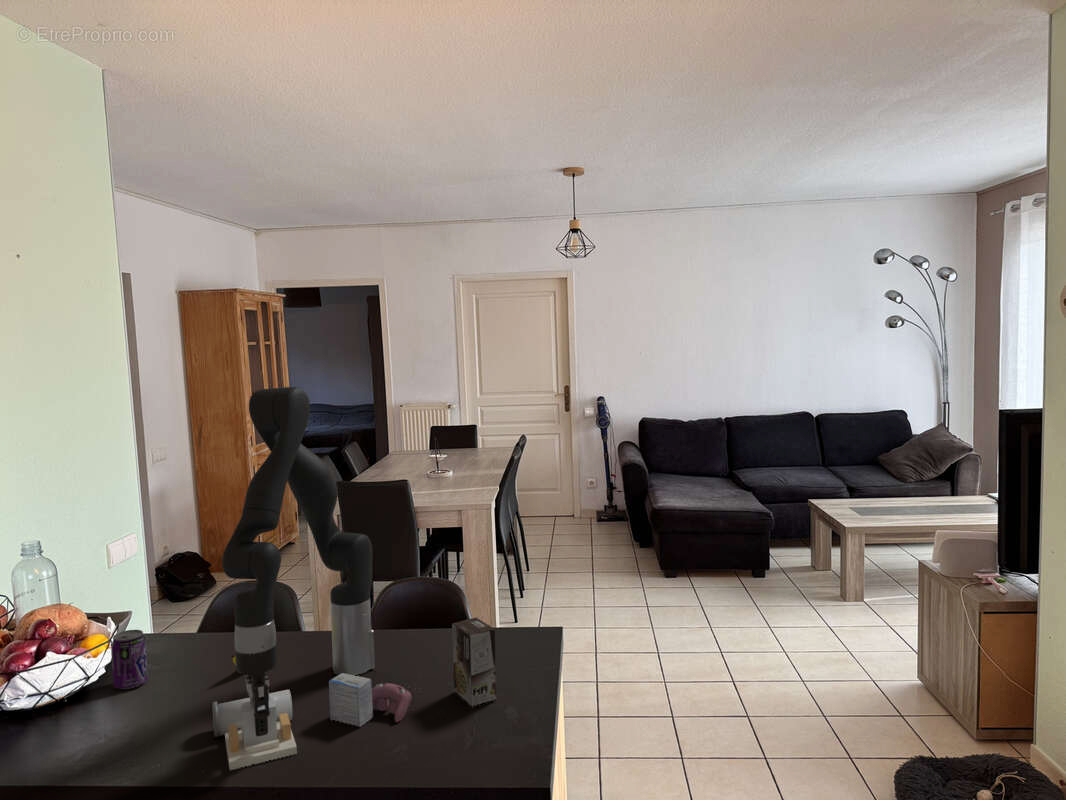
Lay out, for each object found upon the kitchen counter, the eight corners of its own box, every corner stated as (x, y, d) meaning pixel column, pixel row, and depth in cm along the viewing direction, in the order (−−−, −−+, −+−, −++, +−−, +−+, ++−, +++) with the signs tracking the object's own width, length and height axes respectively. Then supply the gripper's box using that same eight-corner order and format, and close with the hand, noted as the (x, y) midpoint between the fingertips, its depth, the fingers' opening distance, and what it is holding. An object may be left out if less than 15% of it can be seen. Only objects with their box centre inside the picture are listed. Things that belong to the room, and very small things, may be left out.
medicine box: (373, 718, 157) (372, 678, 156) (360, 728, 153) (358, 687, 152) (343, 711, 160) (342, 671, 159) (329, 720, 156) (328, 680, 155)
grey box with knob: (274, 730, 149) (272, 688, 149) (277, 741, 145) (275, 698, 145) (242, 737, 147) (240, 695, 146) (244, 748, 143) (242, 705, 142)
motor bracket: (288, 711, 160) (287, 681, 160) (302, 752, 144) (301, 719, 143) (213, 727, 154) (212, 696, 153) (219, 773, 137) (217, 738, 137)
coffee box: (497, 700, 163) (496, 628, 162) (471, 708, 160) (469, 635, 159) (478, 684, 171) (476, 616, 170) (452, 692, 168) (451, 622, 167)
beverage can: (133, 692, 170) (130, 641, 169) (106, 690, 171) (103, 639, 170) (154, 679, 177) (152, 629, 176) (128, 676, 178) (125, 627, 177)
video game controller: (409, 723, 157) (417, 688, 160) (397, 723, 153) (405, 687, 156) (371, 714, 162) (379, 680, 164) (359, 713, 158) (367, 678, 160)
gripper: (281, 653, 140) (284, 737, 141) (271, 628, 152) (274, 704, 154) (238, 661, 136) (242, 747, 138) (232, 634, 149) (235, 713, 150)
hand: (259, 724), depth 146 cm, fingers open, 8 cm apart
